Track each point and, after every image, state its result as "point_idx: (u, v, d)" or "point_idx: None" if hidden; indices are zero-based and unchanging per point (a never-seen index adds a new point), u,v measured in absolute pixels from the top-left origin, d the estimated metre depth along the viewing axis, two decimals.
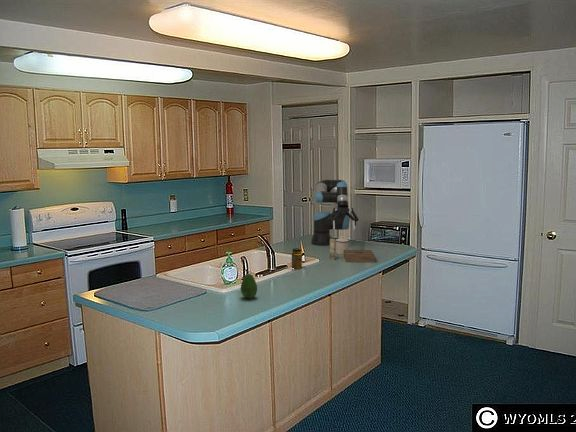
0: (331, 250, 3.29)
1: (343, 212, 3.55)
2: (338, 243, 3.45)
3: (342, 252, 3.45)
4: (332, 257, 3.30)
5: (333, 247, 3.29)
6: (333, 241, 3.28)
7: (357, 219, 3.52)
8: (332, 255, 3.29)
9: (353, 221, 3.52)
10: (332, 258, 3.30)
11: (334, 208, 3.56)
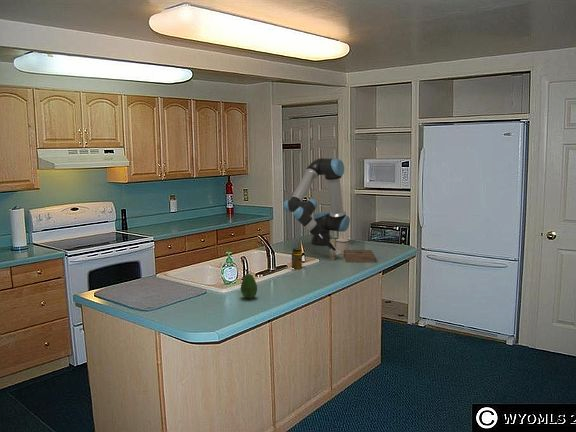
0: (331, 250, 3.29)
1: None
2: (338, 243, 3.45)
3: (342, 252, 3.45)
4: (332, 257, 3.30)
5: None
6: (333, 241, 3.28)
7: (329, 247, 3.26)
8: (332, 255, 3.29)
9: None
10: (332, 258, 3.30)
11: None
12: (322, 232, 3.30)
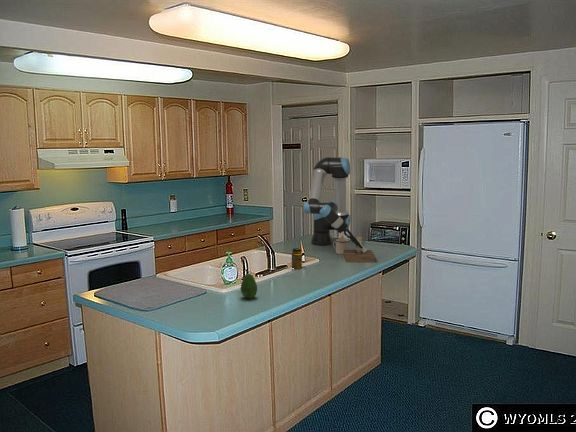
0: (358, 248, 3.29)
1: None
2: (338, 243, 3.45)
3: (342, 252, 3.45)
4: None
5: None
6: (360, 239, 3.28)
7: (356, 245, 3.25)
8: None
9: None
10: None
11: None
12: None
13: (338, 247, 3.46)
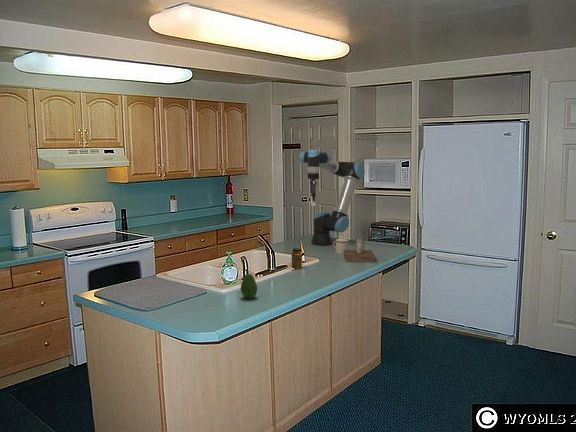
0: (358, 250, 3.29)
1: None
2: (338, 243, 3.45)
3: (342, 252, 3.45)
4: None
5: (360, 247, 3.28)
6: (360, 241, 3.27)
7: (311, 195, 3.36)
8: None
9: (311, 197, 3.39)
10: None
11: None
12: None
13: (338, 247, 3.46)
